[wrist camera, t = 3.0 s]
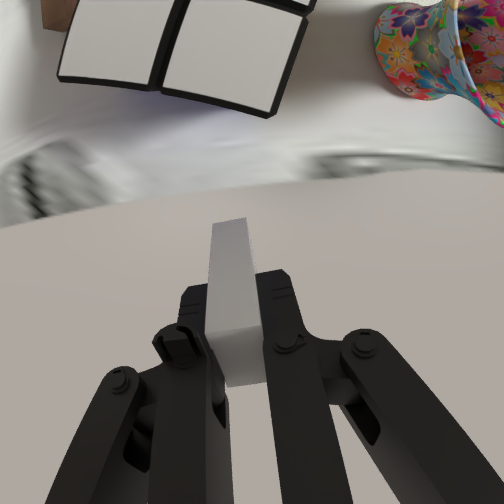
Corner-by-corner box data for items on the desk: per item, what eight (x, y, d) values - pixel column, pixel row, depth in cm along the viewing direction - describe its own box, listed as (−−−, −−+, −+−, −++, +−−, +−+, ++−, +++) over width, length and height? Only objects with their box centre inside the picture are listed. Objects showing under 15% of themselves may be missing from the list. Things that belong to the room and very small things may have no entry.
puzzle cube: (124, 79, 18) (51, 83, 9) (164, -36, 13) (123, -98, 4) (256, 107, 20) (275, 122, 11) (297, -10, 15) (343, -65, 6)
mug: (357, 87, 19) (445, 99, 10) (367, -15, 14) (448, -56, 5) (468, 124, 20) (554, 160, 11) (477, 37, 15) (564, 45, 6)
